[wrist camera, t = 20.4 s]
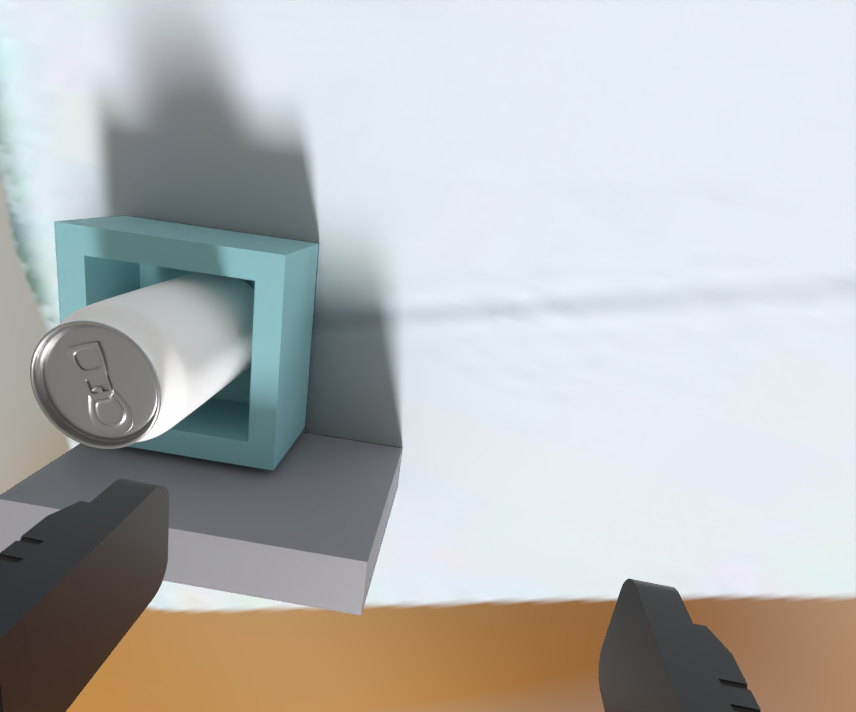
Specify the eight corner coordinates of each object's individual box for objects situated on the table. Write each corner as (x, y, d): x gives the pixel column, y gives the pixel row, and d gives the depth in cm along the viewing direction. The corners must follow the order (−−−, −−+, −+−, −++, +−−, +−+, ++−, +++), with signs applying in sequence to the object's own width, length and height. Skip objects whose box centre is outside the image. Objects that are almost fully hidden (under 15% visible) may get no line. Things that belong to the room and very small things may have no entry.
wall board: (138, 405, 39) (-5, 498, 27) (402, 448, 38) (367, 562, 27) (139, 445, 40) (0, 551, 28) (397, 488, 39) (361, 615, 27)
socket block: (124, 215, 35) (54, 221, 29) (318, 243, 34) (285, 255, 29) (128, 399, 38) (67, 436, 33) (305, 427, 38) (273, 470, 32)
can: (190, 380, 37) (56, 469, 25) (154, 280, 35) (-6, 327, 23) (285, 361, 36) (191, 444, 24) (253, 257, 34) (137, 295, 22)
